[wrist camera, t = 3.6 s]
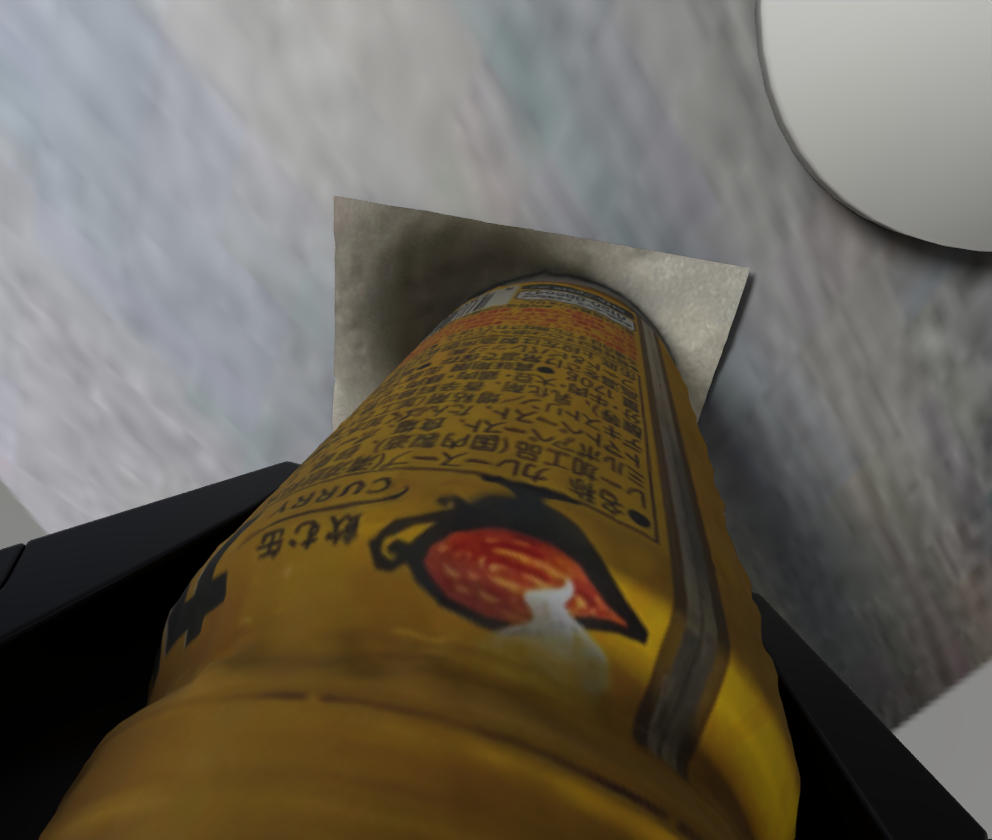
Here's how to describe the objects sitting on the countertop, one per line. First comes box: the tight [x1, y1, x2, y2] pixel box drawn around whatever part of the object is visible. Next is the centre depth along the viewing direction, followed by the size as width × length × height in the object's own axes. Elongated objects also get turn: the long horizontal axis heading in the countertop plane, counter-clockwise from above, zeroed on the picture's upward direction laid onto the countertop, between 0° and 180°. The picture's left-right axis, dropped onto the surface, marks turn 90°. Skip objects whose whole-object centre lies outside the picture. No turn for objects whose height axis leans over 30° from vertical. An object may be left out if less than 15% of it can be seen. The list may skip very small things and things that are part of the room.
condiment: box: [39, 196, 800, 840], centre depth 8 cm, size 7×8×12 cm
